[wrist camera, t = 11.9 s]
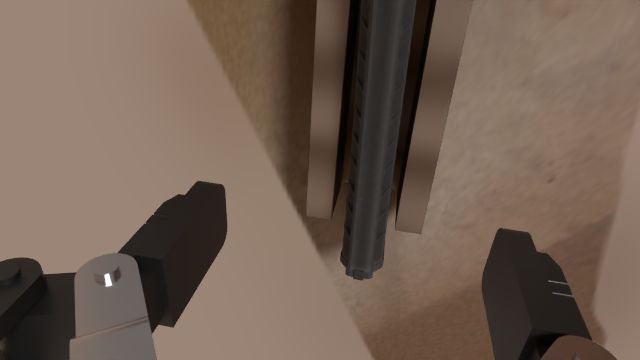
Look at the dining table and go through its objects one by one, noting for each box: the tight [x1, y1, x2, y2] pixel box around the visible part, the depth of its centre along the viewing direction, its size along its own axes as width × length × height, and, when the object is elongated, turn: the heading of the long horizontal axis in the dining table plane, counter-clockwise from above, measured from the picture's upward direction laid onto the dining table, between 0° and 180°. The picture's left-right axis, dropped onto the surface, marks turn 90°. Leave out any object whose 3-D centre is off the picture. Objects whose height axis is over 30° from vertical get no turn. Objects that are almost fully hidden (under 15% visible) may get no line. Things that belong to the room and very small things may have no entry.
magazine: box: [340, 0, 416, 280], centre depth 29 cm, size 17×3×30 cm
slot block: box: [306, 0, 473, 234], centre depth 31 cm, size 24×9×7 cm, turn 177°
